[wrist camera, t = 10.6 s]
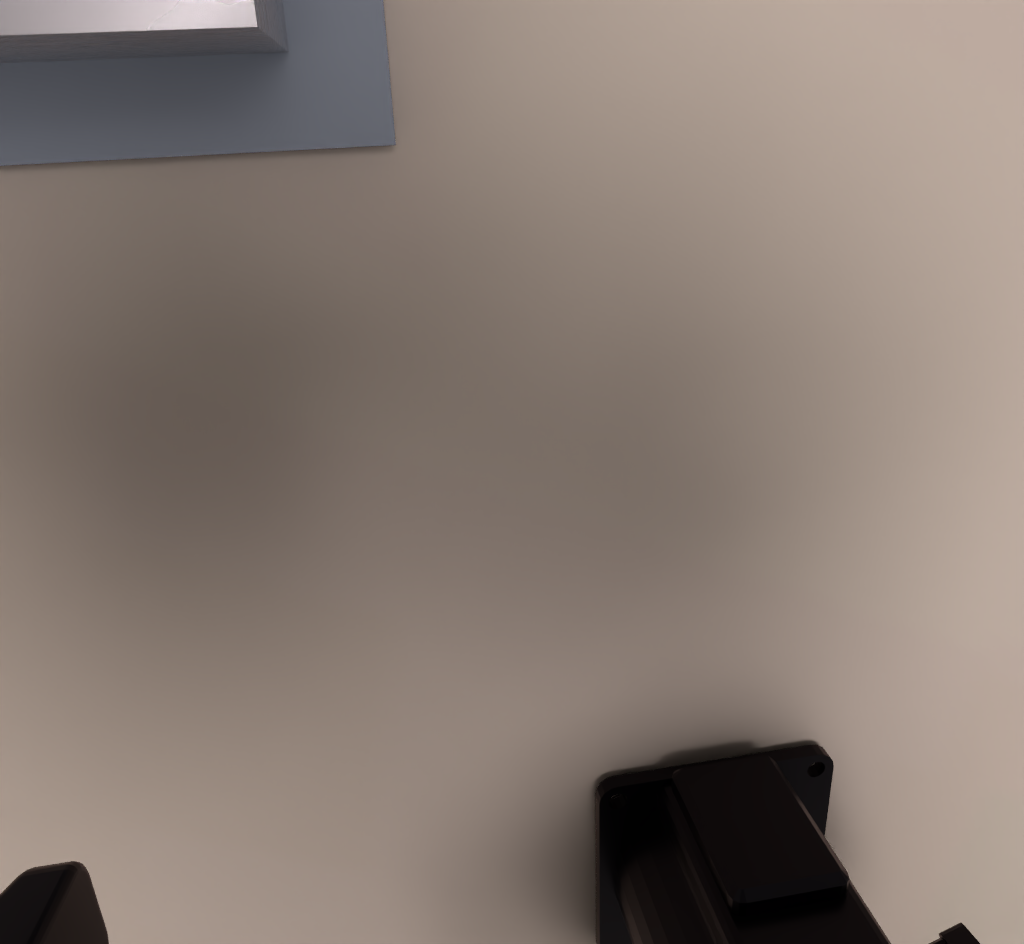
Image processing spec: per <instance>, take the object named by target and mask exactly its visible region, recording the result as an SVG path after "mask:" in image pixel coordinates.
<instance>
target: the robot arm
mask: <svg viewBox="0 0 1024 944" xmlns="http://www.w3.org/2000/svg"><path fill="white" fill-rule="evenodd" d="M813 763H815V764H814V765H812V766H810V765H811V764H813ZM832 774H833V761H832V759H831V758H830V757H829V755H828V754H827V753H826V751H825V750H824V749H823V747H821V746H819V745H807V746H800V747H794V748H788V749H781V750H775V751H769V752H762V753H756V754H750V755H744V756H737V757H731V758H725V759H718V760H712V761H706V762H699V763H693V764H687V765H680V766H674V767H668V768H661V769H655V770H649V771H643V772H636V773H630V774H624V775H617V776H612V777H609V778H606V779H605V780H604V781H602V782H601V783H600V784H599V786H598V787H597V789H596V793H595V828H596V943H597V944H891V943H890V941H889V940H888V938H887V937H886V935H885V934H884V932H883V930H882V929H881V927H880V926H879V924H878V923H877V921H876V920H875V918H874V916H873V915H872V913H871V912H870V910H869V909H868V907H867V906H866V904H865V903H864V901H863V899H862V898H861V896H860V895H859V893H858V892H857V890H856V889H855V887H854V885H853V884H852V882H851V881H850V879H849V876H848V873H847V871H846V870H845V868H844V866H843V865H842V863H841V862H840V860H839V859H838V857H837V856H836V854H835V853H834V851H833V849H832V848H831V846H830V845H829V843H828V842H827V840H826V839H825V837H824V835H825V828H826V820H827V812H828V805H829V797H830V790H831V782H832ZM617 794H621V795H620V796H619V797H616V798H611V797H613V796H614V795H617ZM939 936H940V938H939V939H937V940H935V941H933V942H931V943H929V944H980V943H979V942H978V941H977V939H976V938H975V937H974V936H973V935H972V934H971V933H970V931H969V930H968V929H967V928H966V927H965V926H964V925H963V924H962V923H959V924H957V925H955V926H953V927H951V928H949V929H947V930H945V931H943V932H941V933H939ZM0 944H109V941H108V934H107V930H106V927H105V923H104V920H103V917H102V914H101V911H100V907H99V904H98V901H97V898H96V894H95V891H94V888H93V885H92V882H91V878H90V875H89V873H88V871H87V869H86V867H85V866H84V865H83V864H82V863H80V862H75V861H71V862H65V863H59V864H52V865H46V866H40V867H34V868H31V869H28V870H26V871H25V872H23V873H22V874H20V875H19V876H18V877H17V878H16V879H15V880H14V881H13V882H12V883H11V884H10V885H9V886H8V887H7V888H6V889H5V890H4V891H3V892H2V893H1V894H0Z"/></svg>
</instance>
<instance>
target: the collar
mask: <svg viewBox="0 0 1024 944" xmlns="http://www.w3.org/2000/svg"><path fill="white" fill-rule="evenodd" d="M285 52H289V47H288V39H287V31H286V23H285V15H284V8H283V0H0V63H22V62H48V61H75V60H101V59H127V58H154V57H180V56H206V55H233V54H259V53H285Z"/></svg>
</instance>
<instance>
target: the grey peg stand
mask: <svg viewBox="0 0 1024 944" xmlns="http://www.w3.org/2000/svg"><path fill="white" fill-rule="evenodd" d="M283 8H284V15H285V23H286V31H287V39H288V47H289V52H285V53H259V54H233V55H206V56H180V57H154V58H127V59H101V60H75V61H48V62H22V63H0V166H5V165H24V164H43V163H62V162H81V161H100V160H119V159H138V158H157V157H176V156H195V155H215V154H234V153H253V152H272V151H291V150H310V149H329V148H348V147H367V146H386V145H396V142H395V130H394V119H393V108H392V96H391V85H390V73H389V62H388V50H387V39H386V27H385V16H384V5H383V0H283Z"/></svg>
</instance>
